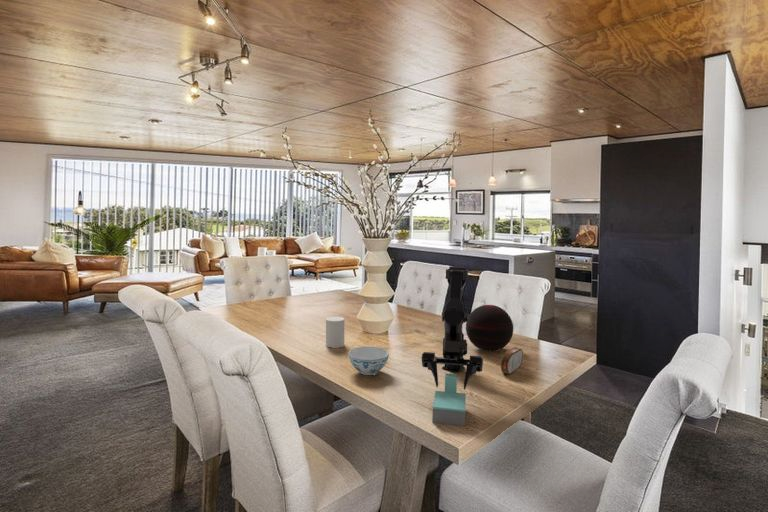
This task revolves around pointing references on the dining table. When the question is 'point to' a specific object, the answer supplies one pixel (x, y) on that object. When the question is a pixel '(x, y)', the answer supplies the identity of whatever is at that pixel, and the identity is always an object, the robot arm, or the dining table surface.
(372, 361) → the chinaware
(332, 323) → the gray cylinder
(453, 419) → the grey box
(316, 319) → the dining table surface
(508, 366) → the tin
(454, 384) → the teal stepped block
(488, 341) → the decorative orb
